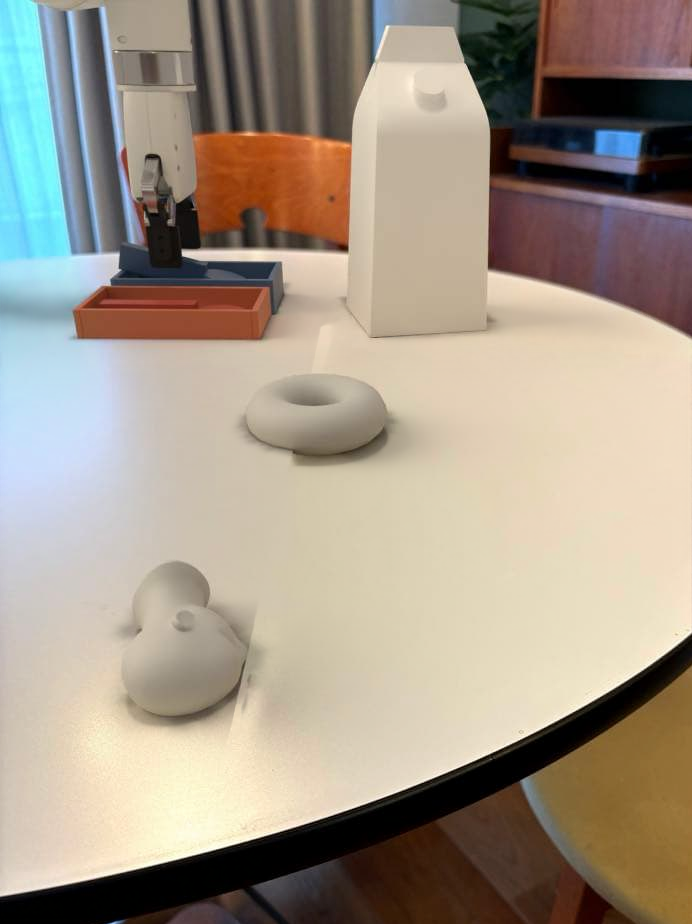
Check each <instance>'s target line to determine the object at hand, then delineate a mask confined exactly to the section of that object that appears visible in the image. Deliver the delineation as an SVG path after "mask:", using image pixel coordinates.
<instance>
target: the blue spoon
mask: <svg viewBox="0 0 692 924" xmlns="http://www.w3.org/2000/svg"><path fill="white" fill-rule="evenodd" d="M119 247H120V248H119V256H118V267H117V268H118V270H120V271H121V270H125V271H129V272H133V273H137V274H141V275H145V276H149V277H153V278H190V279H246V278H244V277H243V276H241V275H238V274H236V273H232V272H229V271H224V270H217V269H208V262H204V261H205V260H199V259H196V258H191V257H187V256H183V255H182V258H183V266H182V267H181V268H153V267H152V266H151V264H150V258H149V250H148V246H143V245H140V244H135V243H132V242H127V241H123V242H122V243H120V245H119Z"/></svg>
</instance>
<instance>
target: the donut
mask: <svg viewBox="0 0 692 924" xmlns="http://www.w3.org/2000/svg"><path fill="white" fill-rule="evenodd" d="M387 414H388V409H387V405H386V403H385V400H384V398H383V397H382V395H381V394H380V392H379V391H378V390H377V389H376V388H375V387H373V386H372V385H371V384H368V383H367V382H365V381H363V380H360V379H358V378H355V377H350V376H347V375H341V374H334V373H303V374H295V375H290V376H285V377H281V378H279V379H275V380H273V381H270V382H267V383H266V384H264V385H262V386H261V387H259V388H257V390H256V391H255V392H254V393H253V394H252V396H251V397H250V399H249V400H248V402H247V404H246V406H245V417H246V422H247V427H248V430H249V431H250V433H251V434H253V435H254V436H255V438H257V439H258V440H259V441H260V442H261V441H262V442H264V443H266V444H269V445H272V446H274V447H278V448H283V449H289V450H292V455H299V456H328V455H336V454H341V453H344V452H349V451H354V450H356V449H358V448H361V447H363V446H365V445H368V444H369V443H370V442H371V441H373V439H374V438H376V437H377V436H378V435H379V434H380V433H381V432H382V430H383V428H384V426H385V423H386V419H387Z"/></svg>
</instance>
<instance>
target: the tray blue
mask: <svg viewBox="0 0 692 924" xmlns="http://www.w3.org/2000/svg"><path fill="white" fill-rule="evenodd" d="M203 261H204V262H208V269H217V270H224V271H229V272H232V273H236V274H238V275H241V276H243V277H244V278H246V279H190V278H153V277H149V276H145V275H141V274H137V273H133V272H129V271H125V270H121V269H120V271H118V272H117V273H116V274H114V275H113V276H112V277H110V279H109V281H110V286H203V287H269V288H270V302H271V315H276V312H277V309H278V308H279V305H280V303H281V301H282V297H283V295H284V294H285V293H284V292H285V289H284V276H283V275H284V274H283V273H284V271H283V262H282V261H281V260H280V261H276V260H275V261H270V260H269V261H268V260H262V261H261V260H260V261H259V260H252V261H251V260H203Z"/></svg>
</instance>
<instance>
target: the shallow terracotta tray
mask: <svg viewBox="0 0 692 924" xmlns="http://www.w3.org/2000/svg"><path fill="white" fill-rule="evenodd" d="M99 307H100V309H239V310H244V309H243V308H242V307H239V306H235V305H226V304H219V305H208V306H203V307H200V308H198V301H197V300H103V301H102V302H100V303H99Z"/></svg>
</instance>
